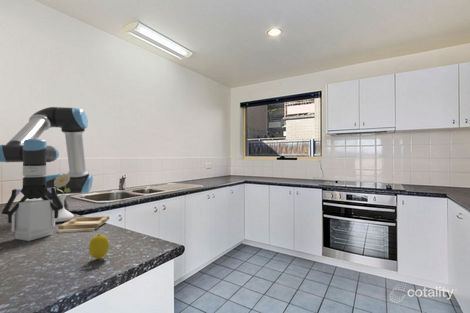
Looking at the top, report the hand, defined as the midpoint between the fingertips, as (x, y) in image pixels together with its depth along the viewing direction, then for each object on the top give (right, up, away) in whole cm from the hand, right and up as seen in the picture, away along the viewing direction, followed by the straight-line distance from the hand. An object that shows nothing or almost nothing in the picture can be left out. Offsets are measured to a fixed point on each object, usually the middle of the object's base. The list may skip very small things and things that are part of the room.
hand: (34, 228), depth 99 cm
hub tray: (+11, -4, +16) cm, 20 cm away
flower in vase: (-7, -4, +25) cm, 26 cm away
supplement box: (0, -4, 0) cm, 4 cm away
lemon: (+40, -3, -23) cm, 46 cm away
